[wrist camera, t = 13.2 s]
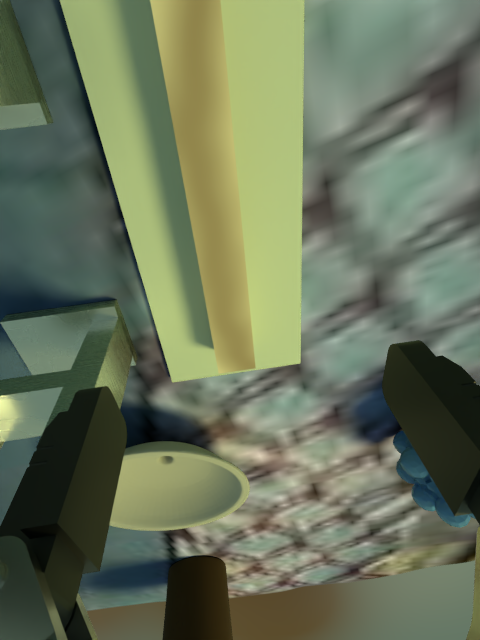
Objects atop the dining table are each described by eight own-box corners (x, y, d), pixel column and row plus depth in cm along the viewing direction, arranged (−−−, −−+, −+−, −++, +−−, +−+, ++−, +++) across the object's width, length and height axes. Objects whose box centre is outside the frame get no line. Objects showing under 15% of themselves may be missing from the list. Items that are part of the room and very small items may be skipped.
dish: (85, 486, 40) (72, 532, 36) (79, 402, 32) (62, 449, 28) (231, 487, 43) (235, 529, 39) (257, 412, 36) (265, 454, 32)
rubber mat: (302, -152, 15) (305, -161, 14) (298, 358, 32) (300, 363, 31) (25, -127, 14) (19, -135, 14) (172, 377, 31) (172, 382, 31)
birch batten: (210, -49, 16) (213, -75, 13) (250, 345, 30) (255, 368, 27) (146, -43, 16) (137, -67, 13) (216, 350, 29) (218, 374, 27)
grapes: (395, 376, 35) (474, 489, 25) (452, 379, 36) (548, 488, 26) (355, 446, 41) (406, 558, 31) (404, 447, 42) (468, 554, 33)
